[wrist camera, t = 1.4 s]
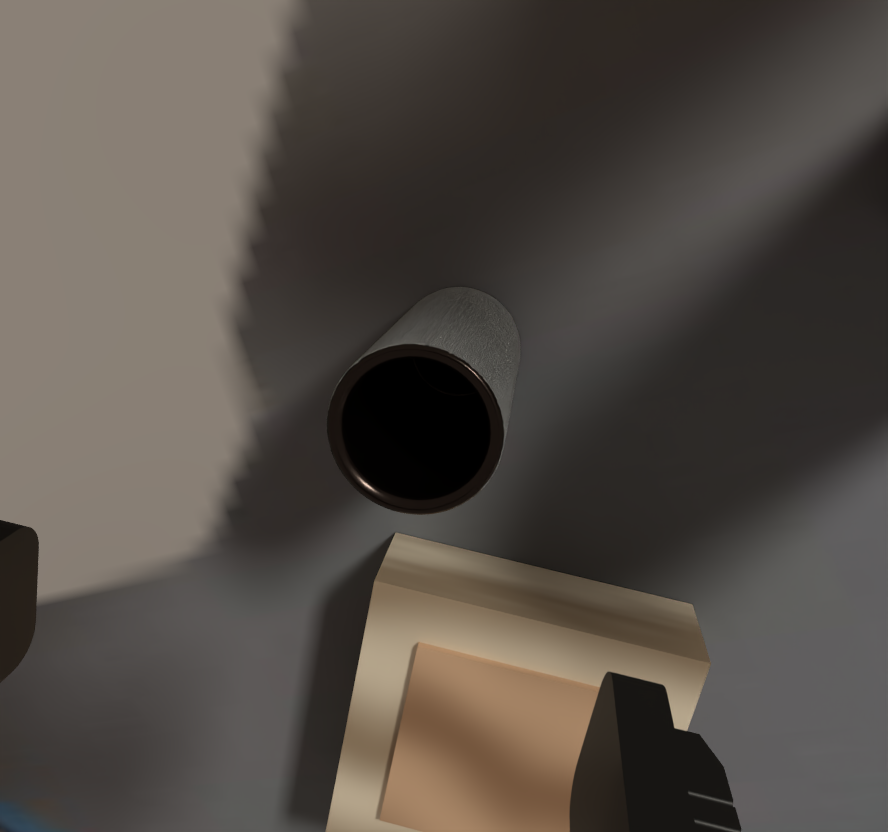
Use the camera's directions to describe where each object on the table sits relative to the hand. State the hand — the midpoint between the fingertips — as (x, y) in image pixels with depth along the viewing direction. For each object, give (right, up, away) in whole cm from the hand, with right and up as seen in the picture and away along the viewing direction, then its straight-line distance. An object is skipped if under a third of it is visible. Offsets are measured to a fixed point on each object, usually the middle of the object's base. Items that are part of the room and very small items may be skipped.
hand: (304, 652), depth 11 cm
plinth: (+5, -8, +23) cm, 25 cm away
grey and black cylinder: (+3, +6, +19) cm, 20 cm away
